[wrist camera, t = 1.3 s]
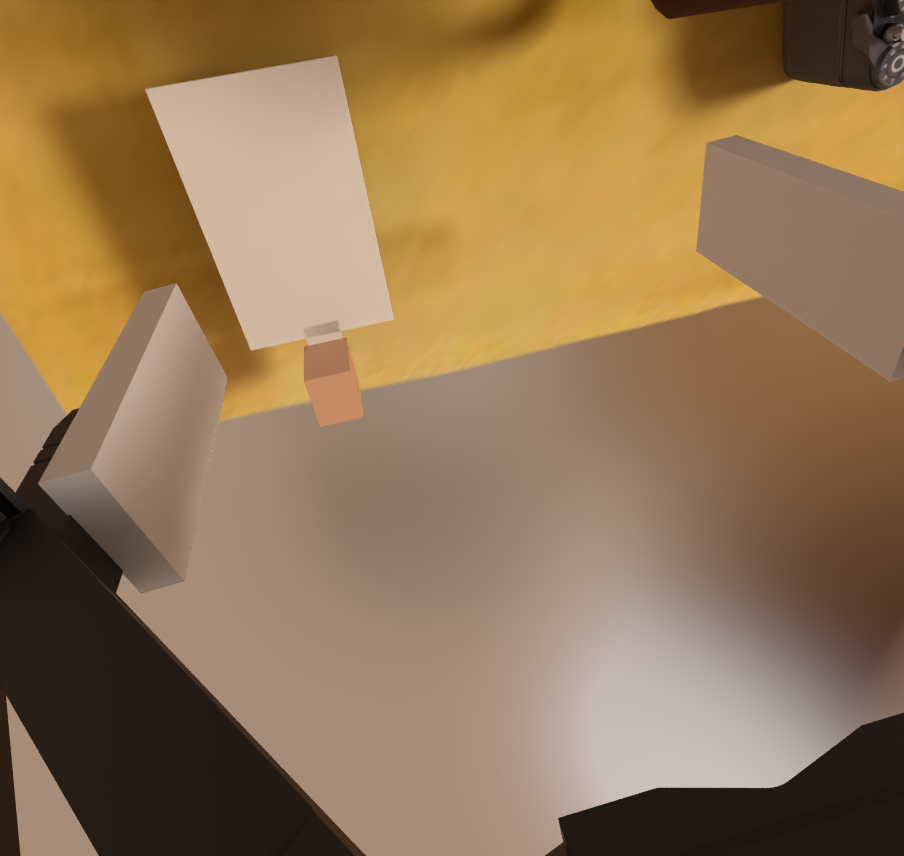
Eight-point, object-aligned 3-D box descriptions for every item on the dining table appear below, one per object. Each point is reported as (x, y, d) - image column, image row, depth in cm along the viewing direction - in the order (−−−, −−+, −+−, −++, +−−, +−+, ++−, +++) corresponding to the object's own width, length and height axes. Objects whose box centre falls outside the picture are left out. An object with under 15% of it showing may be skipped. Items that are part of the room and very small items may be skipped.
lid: (152, 85, 33) (121, 100, 27) (335, 53, 34) (341, 61, 28) (272, 387, 46) (267, 438, 40) (401, 358, 47) (414, 405, 41)
